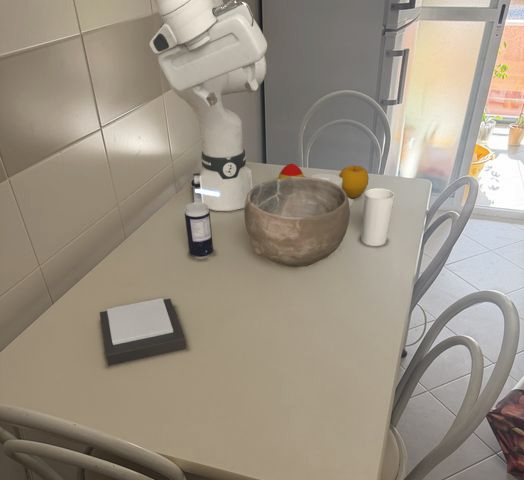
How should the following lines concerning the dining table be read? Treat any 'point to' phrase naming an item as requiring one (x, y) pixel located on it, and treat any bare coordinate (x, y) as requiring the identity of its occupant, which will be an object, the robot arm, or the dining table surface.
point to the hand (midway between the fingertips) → (233, 97)
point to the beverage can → (199, 230)
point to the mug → (376, 216)
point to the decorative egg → (290, 171)
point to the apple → (354, 180)
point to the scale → (140, 331)
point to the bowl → (296, 219)
